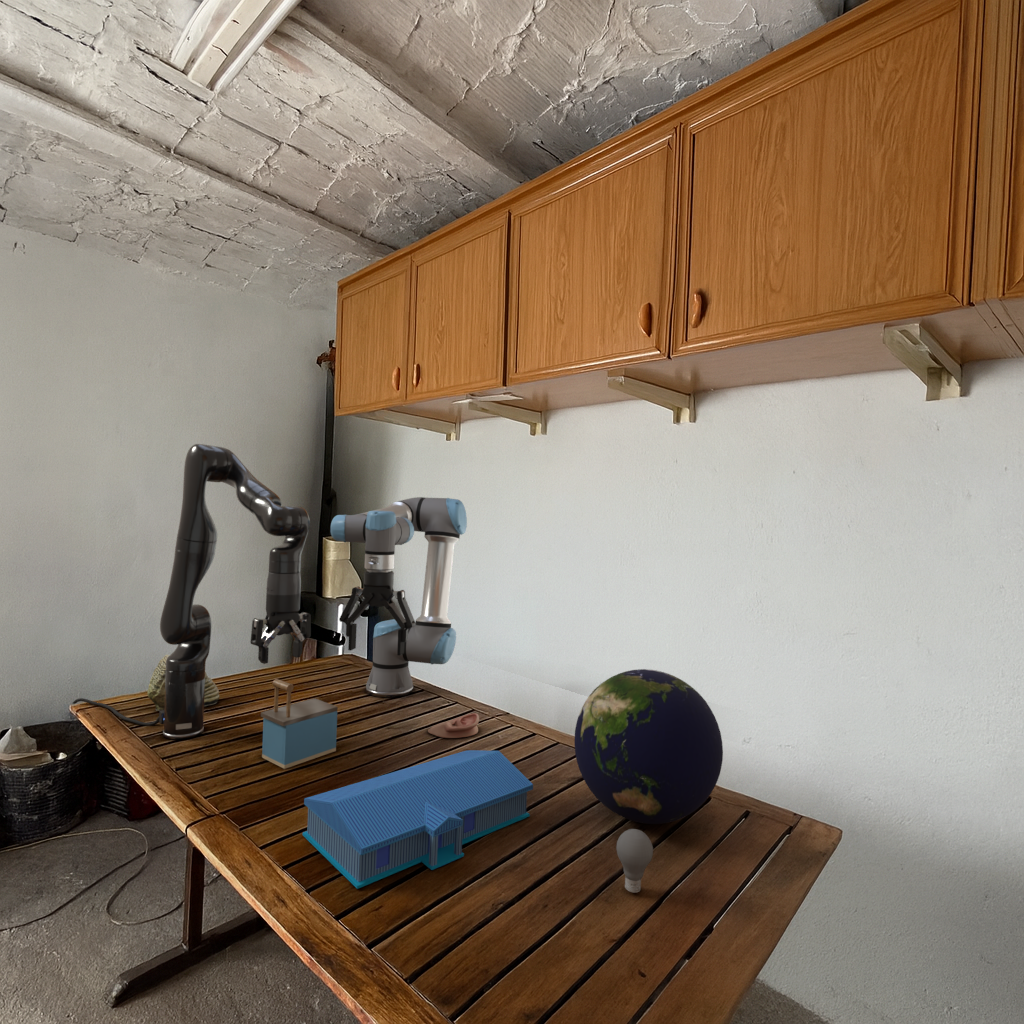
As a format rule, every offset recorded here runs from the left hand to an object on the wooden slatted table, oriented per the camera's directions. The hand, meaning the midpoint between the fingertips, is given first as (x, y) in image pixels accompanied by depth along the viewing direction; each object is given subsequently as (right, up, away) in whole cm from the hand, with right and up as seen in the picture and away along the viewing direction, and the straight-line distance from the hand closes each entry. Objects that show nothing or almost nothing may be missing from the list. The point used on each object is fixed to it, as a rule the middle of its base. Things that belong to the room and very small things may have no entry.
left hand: (280, 659), depth 149 cm
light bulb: (+74, -29, -43) cm, 91 cm away
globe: (+82, -29, -17) cm, 88 cm away
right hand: (+19, -2, +16) cm, 25 cm away
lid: (+3, -15, +6) cm, 16 cm away
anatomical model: (+38, -26, +26) cm, 53 cm away
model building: (+37, -27, -26) cm, 53 cm away
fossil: (-42, -22, +36) cm, 60 cm away
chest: (+2, -25, +6) cm, 26 cm away
